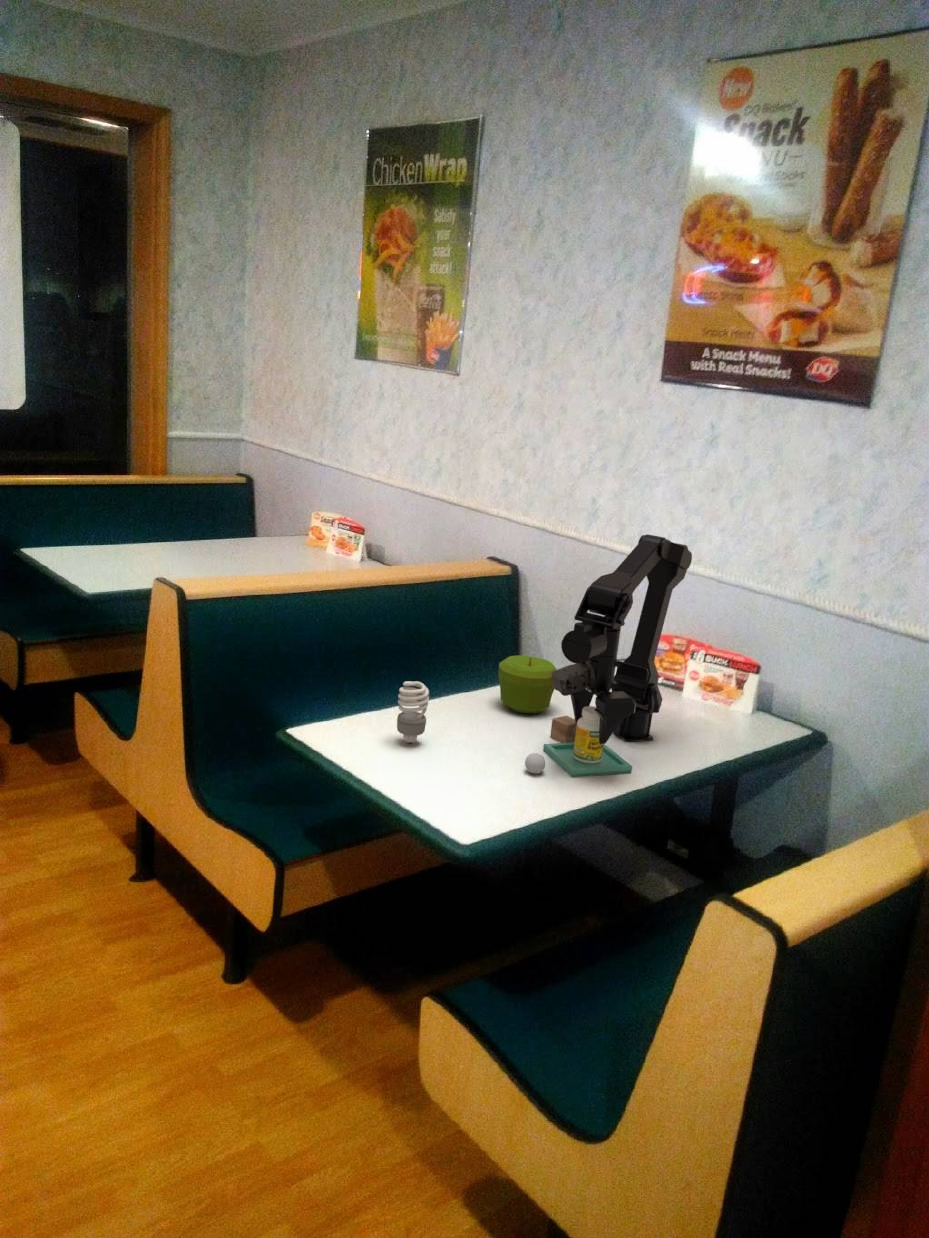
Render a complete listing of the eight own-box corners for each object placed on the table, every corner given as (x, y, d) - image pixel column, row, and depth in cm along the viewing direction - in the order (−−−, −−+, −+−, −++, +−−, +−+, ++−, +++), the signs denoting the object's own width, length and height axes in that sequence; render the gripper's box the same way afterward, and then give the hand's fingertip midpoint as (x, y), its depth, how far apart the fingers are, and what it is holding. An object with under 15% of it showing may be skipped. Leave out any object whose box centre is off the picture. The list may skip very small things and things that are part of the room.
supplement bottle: (588, 751, 182) (595, 703, 179) (607, 762, 178) (614, 713, 175) (566, 755, 179) (573, 706, 176) (585, 766, 175) (592, 716, 172)
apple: (483, 702, 205) (488, 651, 202) (527, 695, 212) (533, 646, 209) (520, 722, 195) (527, 669, 192) (565, 714, 202) (572, 663, 200)
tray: (599, 747, 186) (600, 740, 186) (631, 773, 175) (632, 766, 175) (543, 750, 182) (543, 743, 181) (572, 777, 171) (572, 770, 170)
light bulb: (430, 742, 181) (435, 681, 178) (416, 751, 176) (421, 688, 173) (403, 735, 183) (408, 674, 180) (388, 744, 178) (393, 682, 175)
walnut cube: (564, 734, 191) (566, 715, 190) (579, 741, 189) (581, 722, 188) (549, 737, 189) (552, 718, 188) (564, 745, 186) (567, 725, 185)
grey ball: (538, 767, 174) (541, 749, 173) (547, 776, 170) (549, 757, 170) (520, 769, 172) (522, 750, 171) (529, 777, 169) (531, 758, 168)
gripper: (538, 637, 179) (529, 717, 182) (585, 669, 162) (574, 756, 166) (591, 637, 183) (581, 715, 187) (643, 668, 166) (630, 753, 170)
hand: (590, 733), depth 177 cm, fingers open, 9 cm apart
